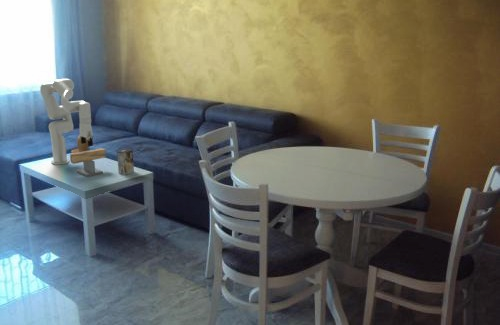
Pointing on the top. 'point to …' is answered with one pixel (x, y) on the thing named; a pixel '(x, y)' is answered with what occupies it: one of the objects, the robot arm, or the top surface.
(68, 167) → the top surface
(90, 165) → the ridge stand
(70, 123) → the robot arm
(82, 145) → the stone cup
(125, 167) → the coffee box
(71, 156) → the oak batten
